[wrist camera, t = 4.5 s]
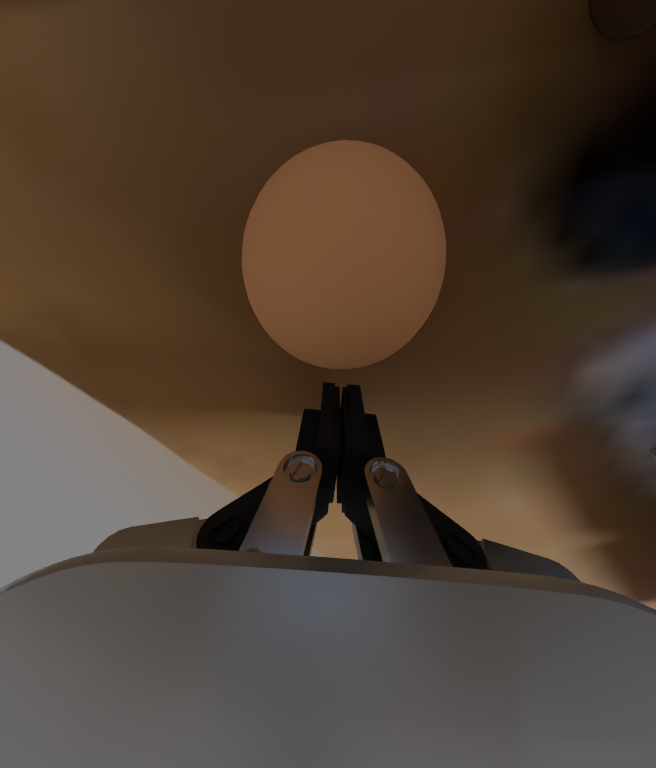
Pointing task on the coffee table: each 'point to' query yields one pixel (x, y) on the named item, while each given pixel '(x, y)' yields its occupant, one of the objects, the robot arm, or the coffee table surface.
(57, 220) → the coffee table surface
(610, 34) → the post
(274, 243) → the ball
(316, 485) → the robot arm
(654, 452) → the block tower
